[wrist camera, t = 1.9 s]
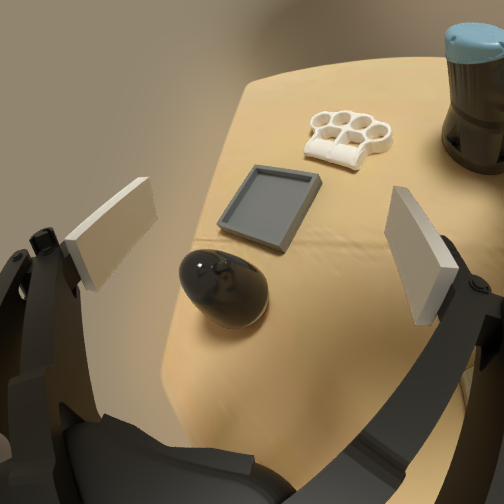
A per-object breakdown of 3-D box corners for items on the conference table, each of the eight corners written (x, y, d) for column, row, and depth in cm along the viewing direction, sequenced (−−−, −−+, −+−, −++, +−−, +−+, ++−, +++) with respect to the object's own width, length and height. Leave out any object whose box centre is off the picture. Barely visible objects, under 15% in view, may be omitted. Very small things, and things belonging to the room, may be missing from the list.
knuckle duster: (294, 156, 56) (329, 113, 57) (373, 180, 44) (402, 129, 46) (288, 144, 53) (324, 102, 55) (370, 167, 42) (400, 116, 43)
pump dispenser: (276, 335, 40) (216, 304, 28) (217, 333, 45) (148, 303, 33) (282, 270, 44) (232, 218, 33) (226, 275, 49) (167, 232, 38)
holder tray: (260, 172, 57) (254, 164, 56) (322, 183, 49) (318, 174, 47) (223, 230, 55) (216, 224, 53) (285, 253, 46) (278, 245, 44)
